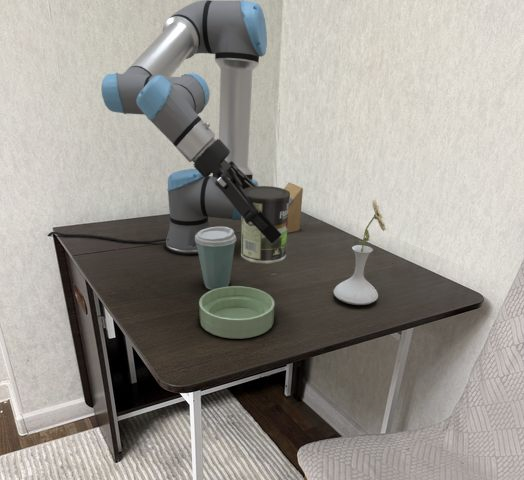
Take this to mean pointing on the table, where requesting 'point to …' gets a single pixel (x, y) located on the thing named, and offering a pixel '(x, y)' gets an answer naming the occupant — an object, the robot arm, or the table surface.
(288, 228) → the sandwich container
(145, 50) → the robot arm
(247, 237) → the coffee can
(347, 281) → the flower in vase
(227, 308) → the bowl
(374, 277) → the table surface
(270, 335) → the table surface
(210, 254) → the disposable coffee cup
